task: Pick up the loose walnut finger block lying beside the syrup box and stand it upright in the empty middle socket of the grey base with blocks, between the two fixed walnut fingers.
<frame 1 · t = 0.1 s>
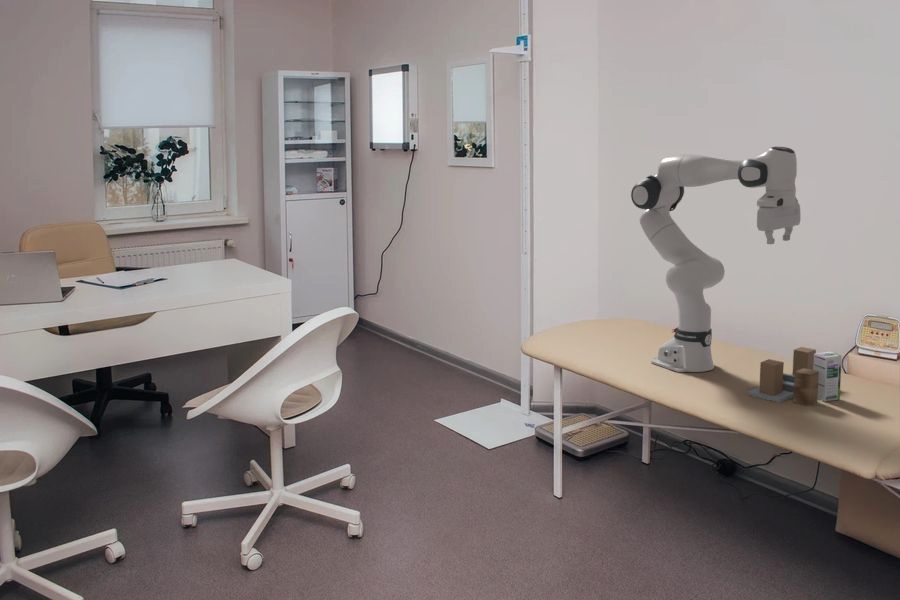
hand: (778, 242, 265), 48 cm above the table, fingers open, 8 cm apart
syrup box: (825, 398, 261), on the table
finger block: (805, 402, 258), on the table
grey base with blocks: (787, 388, 271), on the table
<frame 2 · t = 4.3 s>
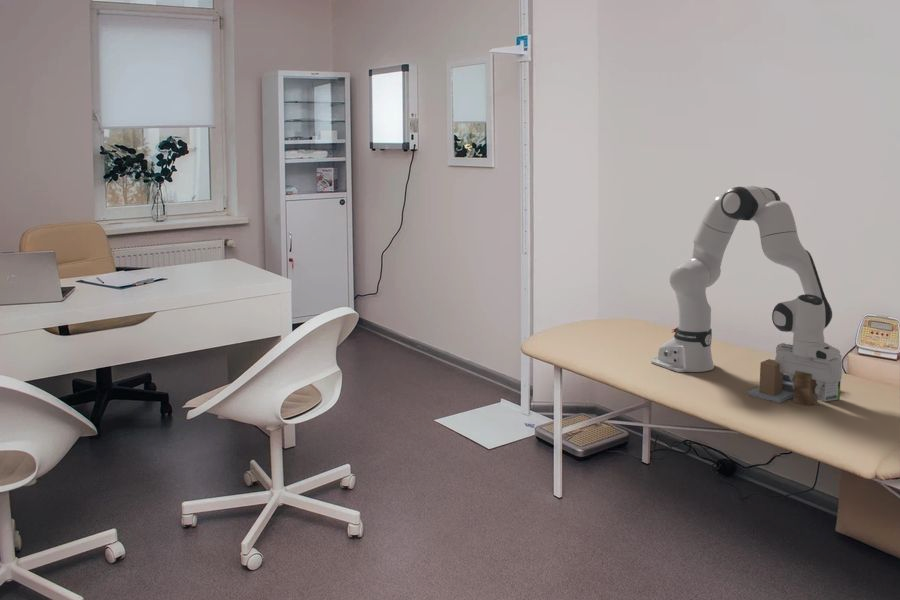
hand: (805, 391, 257), 4 cm above the table, fingers closed on finger block, 5 cm apart
finger block: (805, 402, 258), on the table, touching gripper
everything else where it was.
when the fingers open (6 cm above the table, at t = 9.9 s): finger block stays where it is, resting on grey base with blocks.
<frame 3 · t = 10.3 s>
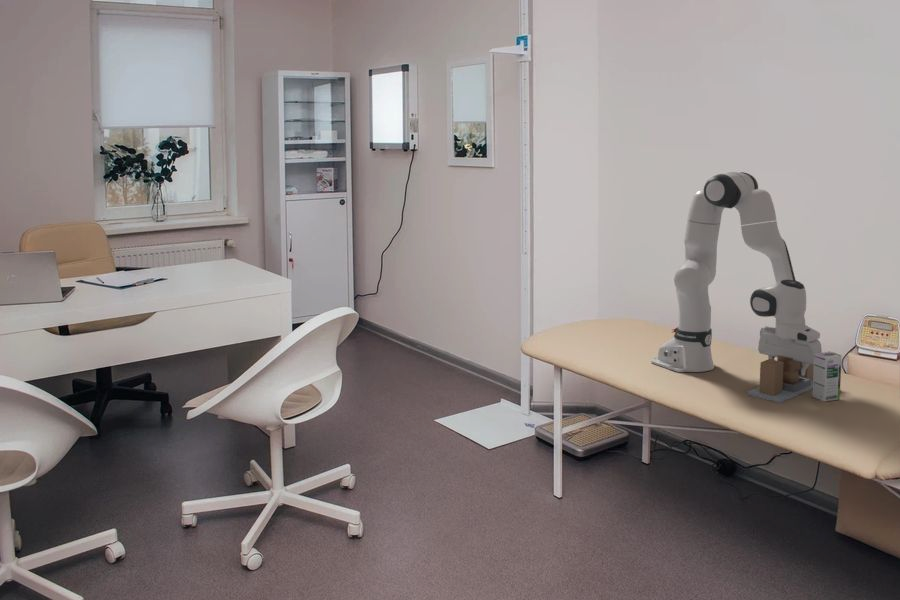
hand: (787, 371, 270), 6 cm above the table, fingers open, 8 cm apart
finger block: (787, 385, 271), point 1 cm above the table, touching grey base with blocks
everything else where it was.
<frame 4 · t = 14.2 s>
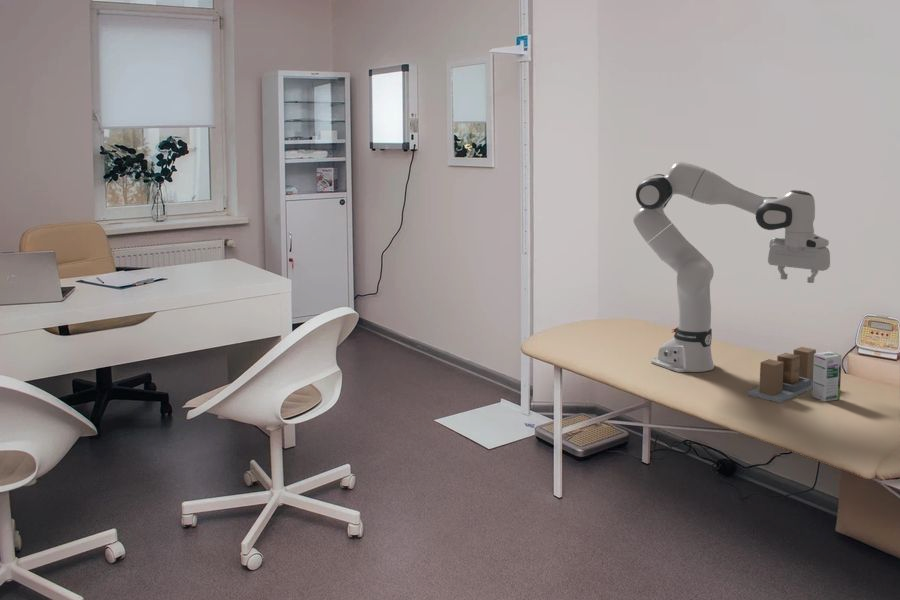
hand: (797, 280, 277), 33 cm above the table, fingers open, 8 cm apart
nothing on the table moved.
at the end: finger block 0.1 cm off-centre on the grey base with blocks, point 1.2 cm above the grey base with blocks's base; finger block tilted 0°; the gripper is holding nothing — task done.
